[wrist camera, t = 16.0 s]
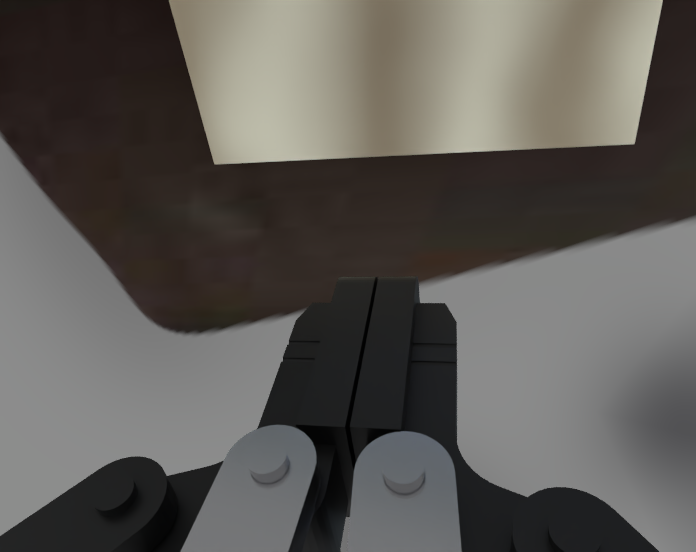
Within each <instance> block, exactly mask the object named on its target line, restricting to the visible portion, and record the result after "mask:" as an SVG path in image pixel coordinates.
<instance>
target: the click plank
mask: <svg viewBox="0 0 696 552" xmlns="http://www.w3.org/2000/svg"><path fill="white" fill-rule="evenodd" d="M662 2H663V0H169V3H170V6H171V10H172V14H173V17H174V21H175V24H176V28H177V31H178V35H179V39H180V42H181V46H182V49H183V53H184V57H185V60H186V64H187V67H188V71H189V75H190V78H191V82H192V85H193V89H194V92H195V96H196V100H197V103H198V107H199V110H200V114H201V118H202V121H203V125H204V128H205V132H206V136H207V139H208V143H209V146H210V150H211V153H212V157H213V161H214V164H233V163H254V162H274V161H295V160H316V159H336V158H357V157H378V156H398V155H419V154H439V153H460V152H481V151H501V150H522V149H543V148H563V147H584V146H604V145H625V144H635V139H636V134H637V129H638V124H639V119H640V114H641V108H642V103H643V98H644V93H645V88H646V83H647V78H648V73H649V68H650V63H651V58H652V52H653V47H654V42H655V37H656V32H657V27H658V22H659V17H660V12H661V7H662Z"/></svg>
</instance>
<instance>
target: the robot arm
mask: <svg viewBox="0 0 696 552" xmlns="http://www.w3.org/2000/svg"><path fill="white" fill-rule="evenodd" d="M456 330H457V329H456V321H455V319H454V318H453V316H452V314H451V312H450V311H449V309H448V307H447V306H446V305H445V303H420V299H419V283H418V277H379V279H378V278H377V277H339V279H338V281H337V284H336V288H335V291H334V294H333V298H332V301H331V303H312V304H311V305H310V306H309V307H308V308H307V309H306V310H305V312H304V313H303V314H302V315H301V316H300V317H299V318H298V319H297V320H296V322H295V325H294V328H293V331H292V334H291V336H290V339H289V345H287V347H286V350H285V353H284V356H283V362H281V364H280V367H279V370H278V373H277V375H276V378H275V381H274V384H273V387H272V390H271V392H270V395H269V398H268V401H267V404H266V406H265V409H264V412H263V415H262V418H261V420H260V423H259V426H258V428H257V429H256V430H254V431H252V432H250V433H248V434H246V435H245V436H244V437H242V438H241V439H240V440H239V441H238V442H237V443H236V444H234V446H233V447H232V448H231V449H230V451H229V452H228V454H227V456H226V458H225V459H224V461H222V462H219V463H217V464H214V465H211V466H208V467H204V468H200V469H195V470H191V471H187V472H183V473H178V474H175V475H170V476H166V474H165V472H164V470H163V468H162V467H161V466H160V465H159V464H158V463H157V462H155V461H154V460H152V459H149V458H146V457H128V458H123V459H120V460H117V461H114V462H112V463H110V464H108V465H106V466H104V467H102V468H101V469H99V470H97V471H96V472H94V473H93V474H91V475H90V476H88V477H87V478H86V479H84V480H83V481H81V482H80V483H78V484H77V485H75V486H74V487H72V488H71V489H69V490H68V491H66V492H65V493H63V494H62V495H60V496H59V497H57V498H56V499H55V500H53V501H51V502H50V503H49V504H47V505H46V506H44V507H43V508H41V509H40V510H38V511H37V512H35V513H34V514H32V515H31V516H29V517H28V518H26V519H25V520H23V521H22V522H20V523H19V524H18V525H16V526H15V527H13V528H11V529H10V530H9V531H7V532H6V533H4V534H3V535H1V536H0V552H341V551H340V547H341V541H342V535H343V530H344V524H345V518H346V517H350V522H349V534H348V545H347V552H659V551H658V550H657V549H656V548H655V547H654V546H653V545H652V544H651V543H649V542H648V541H647V540H646V539H645V538H644V537H643V536H642V535H641V534H640V533H639V532H638V531H637V530H635V529H634V528H633V527H632V526H631V525H630V524H629V523H628V522H627V521H626V520H625V519H624V518H623V517H621V516H620V515H619V514H618V513H617V512H616V511H615V510H614V509H613V508H611V507H610V506H609V505H608V504H606V503H605V502H604V501H602V500H600V499H599V498H597V497H595V496H593V495H591V494H589V493H587V492H584V491H580V490H577V489H572V488H566V487H562V488H561V487H554V488H547V489H544V490H540V491H538V492H536V493H534V494H532V495H530V496H529V497H525V496H523V495H520V494H517V493H515V492H512V491H509V490H506V489H504V488H501V487H499V486H497V485H494V484H492V483H489V482H488V481H487V480H485V479H483V478H482V477H480V476H479V475H478V474H477V473H475V472H474V471H473V470H472V469H471V468H470V467H469V466H468V464H467V463H466V462H465V460H464V459H463V457H462V455H461V453H460V451H459V449H458V445H457V331H456Z"/></svg>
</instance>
